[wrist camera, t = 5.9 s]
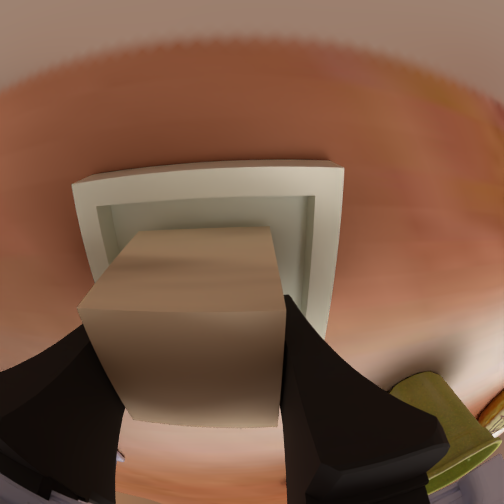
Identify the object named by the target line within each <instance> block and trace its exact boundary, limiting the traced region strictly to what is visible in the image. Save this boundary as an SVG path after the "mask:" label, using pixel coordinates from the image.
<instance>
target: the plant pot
mask: <svg viewBox="0 0 504 504" xmlns="http://www.w3.org/2000/svg"><path fill="white" fill-rule="evenodd" d="M389 394H391V395H393V396H395V397H396V398H398V399H400V400H402V401H403V402H405V403H407V404H409V405H412V406H414V407H416V408H418V409H420V410H423V411H425V412H427V413H429V414H432V415H434V416H436V417H437V418H438V420H439V422H440V424H441V425H442V427H443V429H444V432H445V434H446V437H447V439H448V442H449V444H450V448H449V450H448V452H447V454H446V455H445V456H444V457H443V458H442V459H441V460H440V461H439V462H438V463H437V464H436V465H434V466H433V467H432V468H431V469H430V470H428V471H427V472H426V473H427V476H428V479H429V483H428V484H427V485H425V487H426V490H427V494H428V495H429V494H431V493H433V492H435V491H437V490H439V489H441V488H443V487H445V486H446V485H448V484H450V483H452V482H454V481H455V480H457V479H459V478H460V477H462V476H463V475H465V474H466V473H468V472H469V471H471V470H472V469H474V468H475V467H476V466H478V465H479V464H480V463H481V462H483V461H484V460H485V459H486V458H488V457H489V456H490V455H491V454H492V453H493V452H494V451H495V450H496V449H497V448H498V447H499V446H500V444H501V443H502V441H501V439H500V438H499V437H497V438H494V437H493V436H492V434H491V433H490V432H489V431H488V429H487V428H486V427H482V426H481V425H480V424H479V422H478V421H477V420H476V419H475V417H474V416H473V415H472V414H471V412H470V411H469V410H468V409H467V408H466V406H465V405H464V404H463V403H462V401H461V400H460V399H459V398H458V396H457V395H456V394H455V393H454V391H453V390H452V389H451V388H450V387H449V385H448V384H447V383H446V382H445V380H444V379H443V378H442V377H441V376H440V375H438V374H435V373H432V372H429V371H428V372H423V373H419V374H416V375H414V376H411V377H409V378H407V379H405V380H403V381H401V382H400V383H398V384H397V385H395V386H394V388H393V389H392V391H391V392H390V393H389Z"/></svg>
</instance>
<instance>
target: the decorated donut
mask: <svg viewBox="0 0 504 504" xmlns="http://www.w3.org/2000/svg"><path fill="white" fill-rule="evenodd" d="M478 422H479V424H480V425H481V426H482V427H486V428H487V429H488V431H489V432H490V433H491V434H493V433H495V432H497V431H498V430H500V429H502V428H504V390H503V391H502V392H501V393H500V394H499V395H498V396H497V397H495V398H494V399H493V401H492V402H491V403H490V404H489V405H488V406H487V407H486V408H485V409H484V410H483V412H482V413H481V415H480V416H479V420H478Z"/></svg>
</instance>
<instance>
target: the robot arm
mask: <svg viewBox="0 0 504 504" xmlns="http://www.w3.org/2000/svg"><path fill="white" fill-rule="evenodd" d="M284 300H285V306H286V325H285V341H284V355H283V369H282V382H281V394H280V410H281V415H282V423H283V434H284V448H285V464H286V483H287V504H504V459H503V457H502V455H501V454H497V455H496V456H494V457H493V458H491V459H490V460H488V461H486V462H485V463H483V464H482V465H480V466H478V467H476V468H475V469H473V470H472V471H470V472H469V473H467V474H466V475H464V476H463V477H462V478H460V479H459V481H457V482H455V483H453V484H451V485H449V486H447V487H445V488H443V489H441V490H439V491H436V492H434V493H432V494H430V495H428V494H427V490H426V487H425V485H427V484H428V483H429V479H428V476H427V473H426V472H427V471H428V470H430V469H431V468H432V467H433V466H434V465H436V464H437V463H438V462H439V461H440V460H441V459H442V458H443V457H444V456H445V455H446V454H447V452H448V450H449V448H450V444H449V442H448V439H447V437H446V434H445V432H444V429H443V427H442V425H441V424H440V422H439V420H438V418H437V417H436V416H434V415H432V414H429V413H427V412H425V411H423V410H420V409H418V408H416V407H414V406H412V405H409V404H407V403H405V402H403V401H402V400H400V399H398V398H396V397H395V396H393V395H391V394H389V393H388V392H386V391H384V390H383V389H381V388H380V387H378V386H377V385H375V384H374V383H373V382H371V381H370V380H368V379H367V378H365V377H364V376H362V375H361V374H360V373H359V372H357V371H356V370H355V369H354V368H352V367H351V366H350V365H349V364H348V363H347V362H346V361H344V360H343V359H342V358H341V357H340V356H339V355H338V354H337V353H336V352H335V351H334V350H333V349H332V348H331V347H330V346H329V345H328V344H327V343H326V342H325V341H324V340H323V338H322V337H321V336H320V335H319V334H318V333H317V331H316V330H315V329H314V328H313V327H312V325H311V324H310V323H309V322H308V320H307V319H306V318H305V316H304V315H303V314H302V312H301V311H300V310H299V308H298V307H297V305H296V304H295V302H294V301H293V299H292V297H291V296H290V295H289V294H288V295H284ZM124 410H125V406H124V404H123V403H122V401H121V399H120V397H119V396H118V394H117V392H116V390H115V389H114V387H113V385H112V383H111V381H110V380H109V378H108V376H107V374H106V372H105V370H104V368H103V366H102V364H101V362H100V360H99V358H98V356H97V354H96V352H95V350H94V348H93V345H92V343H91V341H90V339H89V337H88V334H87V332H86V330H85V327H84V325H83V324H82V325H80V326H79V327H78V328H76V329H75V330H74V331H72V332H71V333H70V334H68V335H67V336H65V337H64V338H63V339H61V340H60V341H59V342H57V343H56V344H54V345H53V346H51V347H49V348H48V349H46V350H44V351H43V352H41V353H40V354H38V355H36V356H34V357H32V358H30V359H28V360H26V361H24V362H22V363H20V364H18V365H16V366H14V367H12V368H10V369H7V370H5V371H2V372H0V504H116V501H115V472H116V464H117V461H121V462H124V461H125V458H124V457H123V456H122V455H121V454H120V453H119V452H118V451H117V448H118V441H119V434H120V428H121V423H122V418H123V414H124Z"/></svg>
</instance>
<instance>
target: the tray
mask: <svg viewBox="0 0 504 504" xmlns="http://www.w3.org/2000/svg"><path fill="white" fill-rule="evenodd" d="M343 183H344V167H342V166H340V165H338V164H336V163H334V162H332V161H330V160H234V161H213V162H197V163H184V164H172V165H162V166H152V167H143V168H135V169H127V170H119V171H112V172H105V173H99V174H93V175H91V176H88V177H86V178H84V179H82V180H79V181H77V182H75V183H73V184H71V185H72V191H73V196H74V202H75V207H76V212H77V217H78V221H79V226H80V230H81V235H82V239H83V243H84V247H85V251H86V254H87V258H88V262H89V265H90V269H91V272H92V276H93V279H94V282H95V283H96V282H97V280H98V279H99V278H100V277H101V275H102V274H103V273H104V272H105V270H106V269H107V268H108V267H109V265H110V264H111V263H112V262H113V261H114V259H115V258H116V257H117V256H118V255H119V253H120V252H121V251H122V250H123V249H124V247H125V246H126V245H127V244H128V243H129V242H130V240H131V239H132V238H133V237H134V236H135V235H136V234H137V233H138V231H153V230H174V229H198V228H226V227H260V226H270V230H271V235H272V240H273V245H274V250H275V255H276V260H277V265H278V270H279V275H280V280H281V285H282V290H283V295H288V294H289V295H290V296H291V297H292V299H293V301H294V302H295V304H296V305H297V307H298V308H299V310H300V311H301V312H302V314H303V315H304V316H305V318H306V319H307V320H308V322H309V323H310V324H311V325H312V327H313V328H314V329H315V330H316V331H317V333H318V334H319V335H320V336H321V337H322V338H323V340H325V334H326V328H327V323H328V317H329V310H330V304H331V297H332V291H333V283H334V276H335V268H336V260H337V252H338V243H339V233H340V222H341V211H342V198H343Z"/></svg>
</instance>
